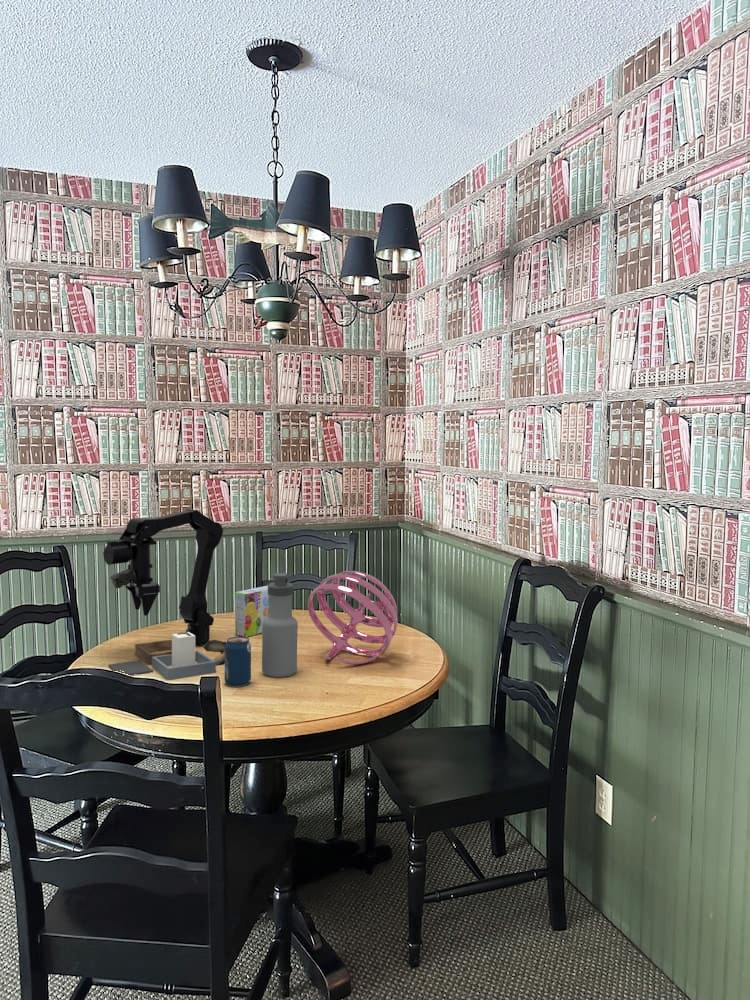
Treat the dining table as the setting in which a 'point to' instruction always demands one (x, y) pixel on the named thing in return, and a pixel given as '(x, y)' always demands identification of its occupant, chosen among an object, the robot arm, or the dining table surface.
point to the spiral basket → (355, 614)
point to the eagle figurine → (216, 649)
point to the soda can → (237, 661)
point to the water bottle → (279, 630)
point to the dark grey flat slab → (131, 667)
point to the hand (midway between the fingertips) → (141, 612)
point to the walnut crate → (152, 649)
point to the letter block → (183, 649)
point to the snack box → (251, 610)
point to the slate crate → (202, 667)
